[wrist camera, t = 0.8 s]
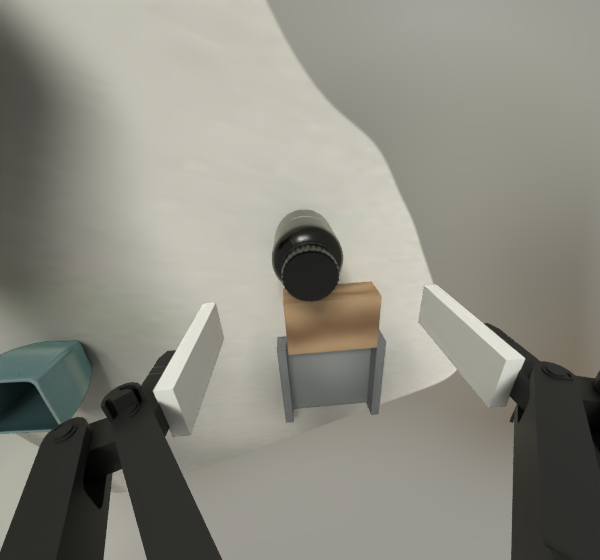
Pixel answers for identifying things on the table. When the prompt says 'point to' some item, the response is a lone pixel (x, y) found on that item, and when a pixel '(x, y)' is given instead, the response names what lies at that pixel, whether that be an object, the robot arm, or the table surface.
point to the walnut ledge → (334, 320)
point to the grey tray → (331, 377)
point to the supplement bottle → (307, 256)
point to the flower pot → (42, 385)
